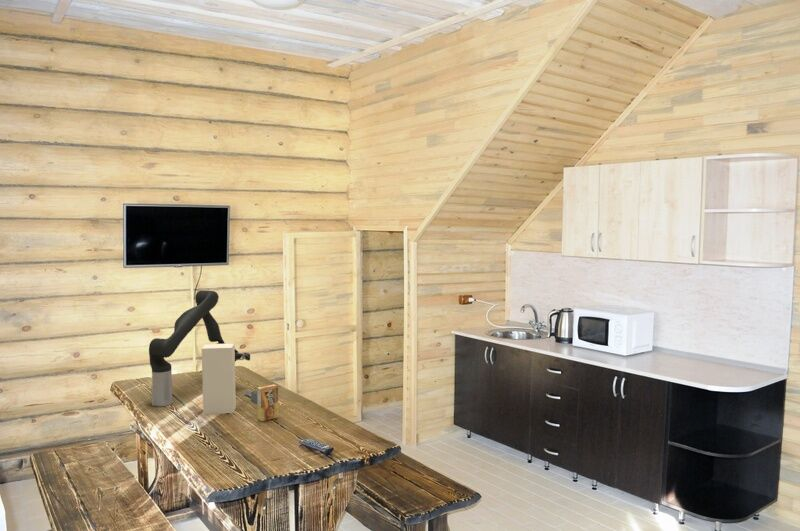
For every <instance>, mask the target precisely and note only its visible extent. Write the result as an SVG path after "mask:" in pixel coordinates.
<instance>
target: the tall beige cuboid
mask: <svg viewBox="0 0 800 531" xmlns="http://www.w3.org/2000/svg"><path fill="white" fill-rule="evenodd" d="M235 347H236V346H235V342H234V343H225V344H217V343H205V344H204V345H203V346H202V347H201V370H202V371H201V372H202V373H201V374H202V376H201V377H202V378H201V379H202V414H207V415H223V414H224V415H225V414H226V413H230V414H234V413H235V411H236V406H237V402H236V401H237V399H236V397H237V396H236V395H237V394H236V390H237V388H236V361H235V349H236V348H235Z"/></svg>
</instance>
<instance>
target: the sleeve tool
mask: <svg viewBox="0 0 800 531" xmlns="http://www.w3.org/2000/svg"><path fill="white" fill-rule="evenodd" d="M243 393H244V395H246V396H247V397H249V398H250V401H251V402H253V403H254V404H256V405H258V401H257V389H256V390H251V389H248V388H247V389H244V390H243Z"/></svg>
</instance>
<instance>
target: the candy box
mask: <svg viewBox="0 0 800 531" xmlns="http://www.w3.org/2000/svg"><path fill="white" fill-rule="evenodd" d="M256 390H257V401H258V404H257V420H259V421H260V422H264V421H268V420H271V419H272V420H273V419H277V418H279V386H278V385H276V384H269V385H263V386H259V387H257V388H256Z"/></svg>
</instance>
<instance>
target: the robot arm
mask: <svg viewBox="0 0 800 531" xmlns="http://www.w3.org/2000/svg"><path fill="white" fill-rule="evenodd" d="M194 297H195V299H194V300H195V304H196V306H193V307H192V308H189V309H187V310H185V311H184V312H183V313H182V314H181V315H180V316H179V317H178V318H176V320H175V322H174V330H173V333H172V334H171V335H170V336H169V337H167V338H158V337H157V338H152V340H150V343H149V344H148V345H149V346H148V357H149V365H150V369H151V385H152V386H151V406H152V407H167V406H170V405H172V404H173V376H172V375H173V374H172V364H171V363H170V362H168V361H167V360H166V359H167V358H169V357H171V356H172V355H173V354H174V353H175V351H176V350H177V348H179V346H180V344H181V343H182V341H183V340H184V339H185V338H186V337H187V336H188V334H189V333H190V332H191V331H192V330H193V329H194V328H195V327H196V325H198V323H199V322H200V321H201V320H202V321H203V323H204V326H205V329H206V335H207V338H208V341H209V342H211V343H215V342H217V343H216V344H226V343H225V341H224V340H223V337H222V334H221V330H220V325H219V323H218V322H217V320H216V319H215V318H214V317H213V315H212V314H211V310H212V309H214V308H215V307H216V306H217V305H218V302H219V299H220V298H219V294H218V292H217V291H214V290H204V289H203V290H198V291H197V292H196V294H195V296H194ZM165 358H166V359H165ZM244 360H246V361H250V360H251V354H250V353H248V352H243V353H242V352H239V351H238V350H237V349H236V348H235V362H237V361H244Z"/></svg>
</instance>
